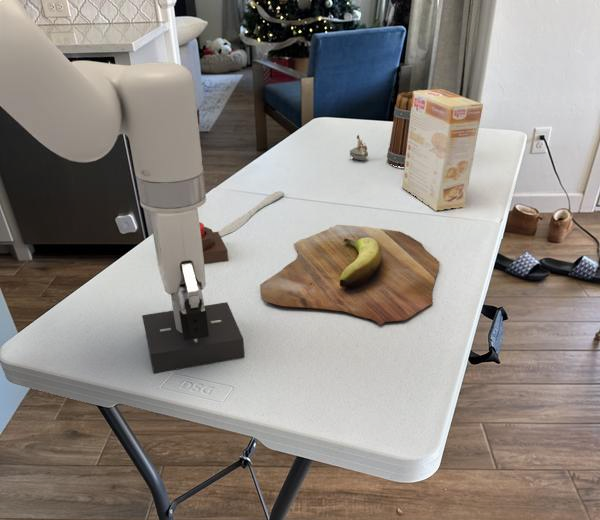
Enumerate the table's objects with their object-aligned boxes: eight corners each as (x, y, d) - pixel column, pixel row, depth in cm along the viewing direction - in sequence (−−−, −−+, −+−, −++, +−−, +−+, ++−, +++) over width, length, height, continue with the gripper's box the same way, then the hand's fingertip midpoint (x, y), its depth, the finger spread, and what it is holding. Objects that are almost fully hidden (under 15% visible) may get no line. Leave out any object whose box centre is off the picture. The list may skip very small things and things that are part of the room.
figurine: (346, 158, 145) (347, 132, 141) (361, 156, 146) (363, 130, 142) (356, 164, 141) (357, 138, 137) (372, 162, 142) (374, 136, 139)
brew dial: (178, 336, 75) (173, 303, 72) (174, 320, 78) (169, 289, 75) (208, 331, 76) (204, 299, 73) (203, 316, 79) (199, 284, 76)
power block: (170, 269, 97) (166, 247, 94) (164, 250, 103) (160, 228, 100) (228, 261, 99) (226, 239, 97) (219, 243, 105) (217, 221, 103)
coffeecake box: (465, 207, 119) (485, 103, 106) (435, 212, 117) (451, 106, 104) (429, 184, 130) (442, 87, 117) (400, 188, 128) (411, 90, 115)
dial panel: (153, 373, 74) (149, 353, 72) (145, 333, 81) (141, 314, 80) (244, 357, 77) (243, 337, 75) (228, 320, 84) (227, 300, 82)
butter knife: (289, 192, 124) (276, 189, 125) (219, 240, 105) (205, 236, 106) (288, 195, 124) (276, 192, 125) (219, 243, 106) (205, 239, 107)
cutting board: (427, 335, 81) (431, 311, 79) (244, 308, 87) (243, 285, 84) (447, 236, 107) (450, 216, 105) (305, 221, 113) (305, 201, 111)
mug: (426, 172, 136) (435, 102, 127) (382, 167, 139) (388, 98, 129) (435, 153, 148) (445, 88, 138) (395, 149, 150) (401, 85, 141)
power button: (183, 241, 97) (181, 231, 96) (179, 232, 100) (178, 222, 99) (206, 238, 98) (205, 229, 97) (202, 229, 101) (201, 220, 100)
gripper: (131, 169, 71) (153, 292, 82) (146, 220, 58) (170, 359, 69) (191, 163, 73) (205, 285, 84) (219, 212, 60) (231, 348, 71)
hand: (189, 318), depth 77 cm, fingers open, 9 cm apart
